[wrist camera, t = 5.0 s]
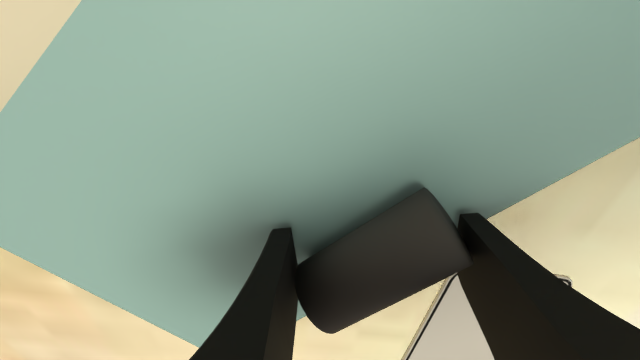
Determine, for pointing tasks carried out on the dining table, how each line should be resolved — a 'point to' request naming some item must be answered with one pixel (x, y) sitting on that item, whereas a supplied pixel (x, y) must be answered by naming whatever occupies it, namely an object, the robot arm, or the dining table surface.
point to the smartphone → (452, 328)
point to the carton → (27, 37)
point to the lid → (300, 142)
